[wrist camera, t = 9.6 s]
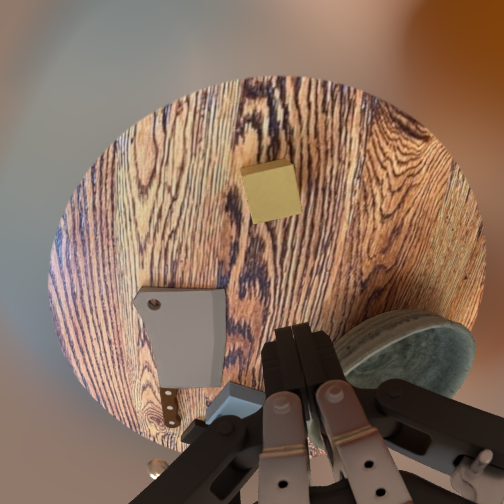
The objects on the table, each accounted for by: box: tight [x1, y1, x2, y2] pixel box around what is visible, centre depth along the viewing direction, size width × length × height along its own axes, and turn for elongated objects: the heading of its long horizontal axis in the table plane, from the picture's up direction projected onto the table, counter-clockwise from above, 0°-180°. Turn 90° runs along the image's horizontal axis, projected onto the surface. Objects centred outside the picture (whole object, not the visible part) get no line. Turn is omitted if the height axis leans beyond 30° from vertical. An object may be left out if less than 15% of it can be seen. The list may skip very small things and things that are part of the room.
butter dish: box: [205, 381, 266, 425], centre depth 38 cm, size 11×7×2 cm, turn 60°
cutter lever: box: [147, 459, 169, 479], centre depth 30 cm, size 13×3×3 cm
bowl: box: [306, 309, 475, 450], centre depth 31 cm, size 21×21×10 cm
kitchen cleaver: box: [133, 287, 226, 428], centre depth 35 cm, size 24×1×10 cm
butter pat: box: [240, 159, 302, 224], centre depth 25 cm, size 4×4×4 cm
